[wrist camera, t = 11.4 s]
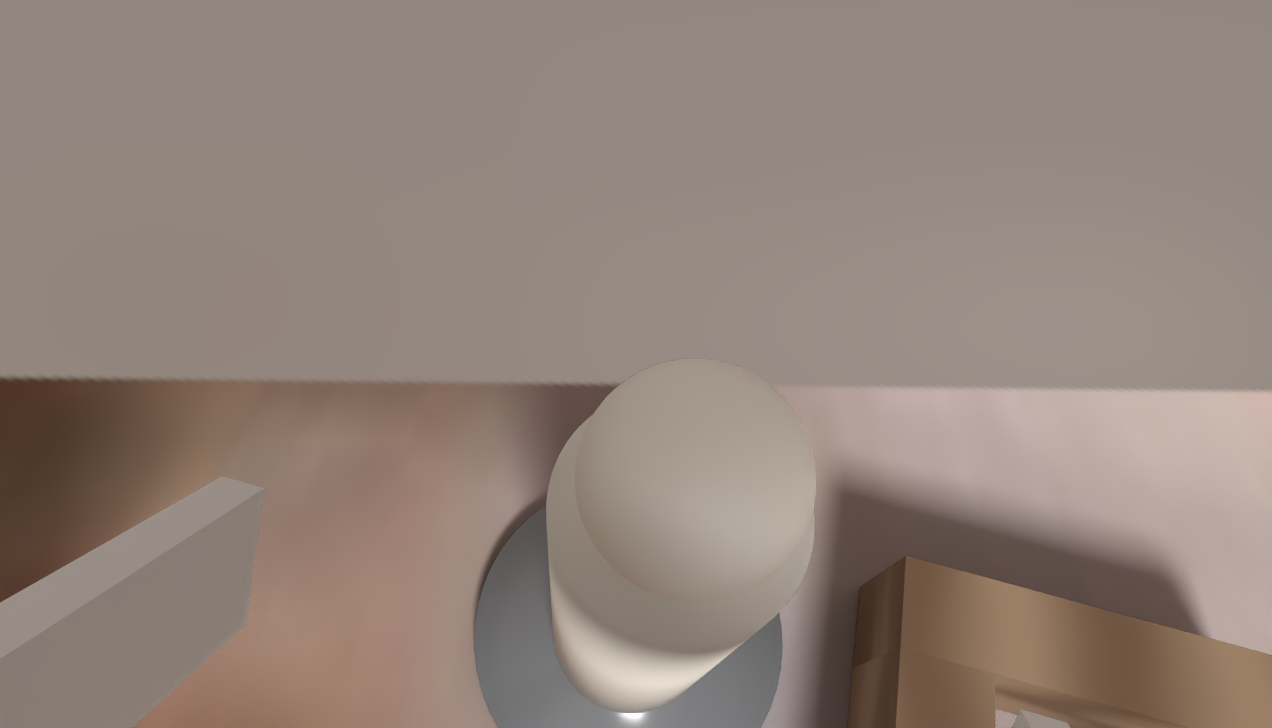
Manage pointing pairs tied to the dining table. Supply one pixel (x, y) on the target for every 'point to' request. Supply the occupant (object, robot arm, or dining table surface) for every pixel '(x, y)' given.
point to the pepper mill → (675, 529)
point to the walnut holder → (1036, 660)
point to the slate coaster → (539, 690)
